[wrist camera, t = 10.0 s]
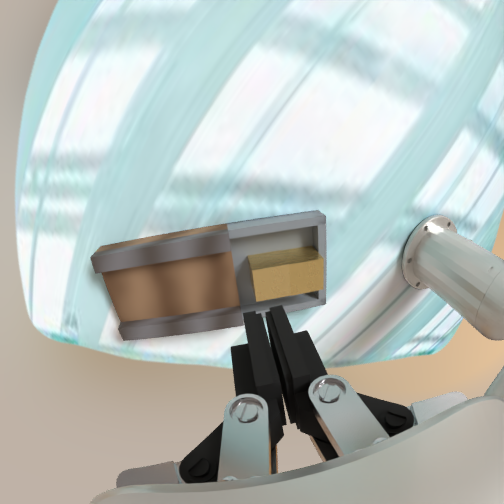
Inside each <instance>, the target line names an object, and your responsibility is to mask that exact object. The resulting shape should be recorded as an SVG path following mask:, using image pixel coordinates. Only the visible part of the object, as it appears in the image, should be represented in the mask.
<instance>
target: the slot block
mask: <svg viewBox="0 0 504 504" xmlns="http://www.w3.org/2000/svg"><path fill="white" fill-rule="evenodd" d="M91 261H92V264H93V267H94V270H95V273H102V275H103V278H104V281H105V284H106V286H107V289H108V292H109V294H110V297H111V299H112V302H113V304H114V307H115V309H116V312H117V314H118V317H119V319H120V321H121V323H120V325H119V328H118V330H119V332H120V334H121V336H122V338H123V341H125V340H137V339H147V338H156V337H165V336H174V335H182V334H190V333H197V332H204V331H211V330H218V329H224V328H231V327H237V326H243V325H244V324H243V318H242V312H241V307H240V301H239V295H238V289H237V283H236V277H235V271H234V265H233V258H232V252H231V245H230V238H229V232H228V227H227V224H221V225H214V226H208V227H202V228H196V229H191V230H185V231H179V232H173V233H168V234H162V235H157V236H151V237H146V238H140V239H135V240H130V241H125V242H120V243H115V244H110V245H105V246H100V247H99V249H98V250H97V251H96V252H95V253H94V254H93V255H92V256H91Z"/></svg>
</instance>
